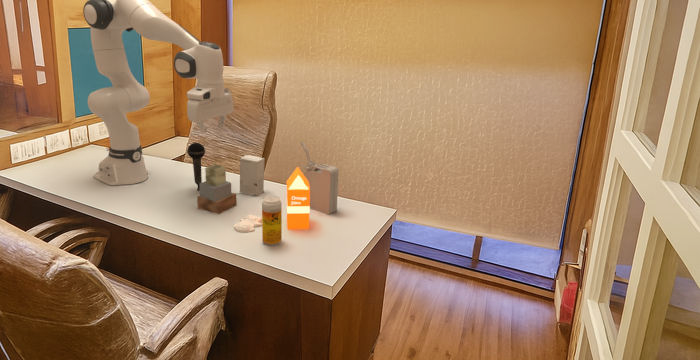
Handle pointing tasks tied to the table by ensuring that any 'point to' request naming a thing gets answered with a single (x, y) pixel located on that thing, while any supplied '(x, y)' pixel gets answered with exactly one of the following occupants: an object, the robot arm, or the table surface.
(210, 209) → the walnut base block
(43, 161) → the table surface
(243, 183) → the skincare box
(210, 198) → the slate top block
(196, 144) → the microphone
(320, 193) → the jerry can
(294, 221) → the orange juice
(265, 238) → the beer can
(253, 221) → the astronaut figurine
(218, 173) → the sage cube
